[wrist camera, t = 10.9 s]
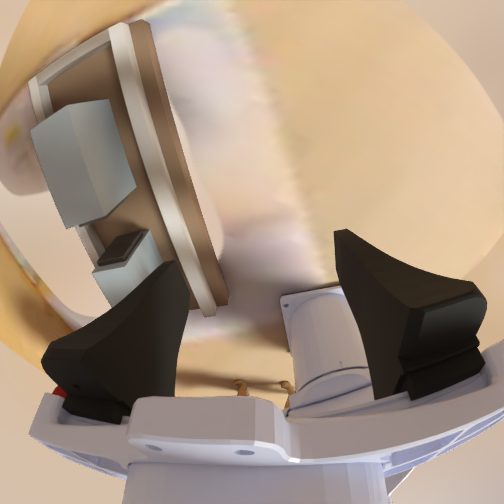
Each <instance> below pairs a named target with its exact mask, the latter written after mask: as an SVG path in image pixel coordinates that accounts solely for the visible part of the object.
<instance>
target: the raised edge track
mask: <svg viewBox="0 0 504 504" xmlns="http://www.w3.org/2000/svg"><path fill="white" fill-rule="evenodd" d="M28 84H29V89H30V94H31V99H32V104H33V108H34V112H35V116H36V120H37V124H40V123H41V122H43V121H44V120H45V119H47V118H48V117H50V116H51V115H53V114H54V113H56V112H57V111H59V110H60V109H62V108H63V107H65V106H67V105H71V104H77V103H83V102H90V101H97V100H105V99H109V102H110V105H111V109H112V113H113V116H114V119H115V123H116V126H117V130H118V133H119V136H120V139H121V142H122V146H123V149H124V152H125V155H126V158H127V161H128V164H129V167H130V170H131V172H132V175H133V178H134V181H135V184H136V186H137V187H136V188H135V189H134V190H133V191H132V192H131V193H129V194H128V198H127V199H126V200H125V201H124V202H123V203H122V204H121V205H120V206H119V207H118V208H117V209H116V210H115V211H114V212H113V213H112V214H111V215H110V216H109V217H108V218H107V219H104V220H101V221H98V222H95V223H92V224H89V225H86V226H83V227H79V225H77V226H75V228H76V230H77V232H78V235H79V237H80V239H81V241H82V243H83V245H84V247H85V249H86V251H87V253H88V255H89V257H90V259H91V261H92V263H93V264H94V266H95V269H94V271H93V272H92V275H93V277H94V278H95V280H96V282H97V284H98V285H99V287H100V289H101V290H102V292H103V294H104V295H105V297H106V299H107V300H108V302H109V304H110V305H111V307H112V308H113V307H114V306H115V305H116V304H118V303H119V302H120V301H121V300H122V299H124V298H125V297H126V296H127V295H128V294H129V293H130V292H131V291H132V290H134V289H135V288H136V287H137V286H138V285H139V284H140V283H141V282H142V281H143V280H144V279H145V278H146V277H147V276H148V275H150V274H151V273H152V272H153V271H154V270H155V269H156V268H157V267H158V266H159V265H161V264H162V263H163V262H165V261H171V260H176V261H177V263H178V265H179V268H180V270H181V273H182V275H183V277H184V279H185V282H186V284H187V286H188V289H189V291H190V293H191V294H190V304H189V310H193V309H201V311H202V313H203V315H204V317H210V316H215V315H216V308H217V306H224V305H228V297H229V293H228V290H227V287H226V284H225V281H224V278H223V276H222V273H221V270H220V267H219V264H218V261H217V258H216V255H215V252H214V249H213V246H212V243H211V240H210V237H209V234H208V231H207V228H206V224H205V221H204V218H203V215H202V212H201V209H200V206H199V203H198V199H197V196H196V193H195V190H194V186H193V183H192V180H191V177H190V173H189V170H188V167H187V163H186V160H185V157H184V153H183V150H182V146H181V143H180V139H179V136H178V132H177V129H176V125H175V122H174V118H173V115H172V111H171V107H170V104H169V100H168V96H167V92H166V89H165V85H164V81H163V77H162V73H161V69H160V65H159V61H158V57H157V53H156V49H155V45H154V41H153V37H152V32H151V28H150V24H149V23H148V22H146V21H144V20H142V19H141V20H139V21H137V22H134V23H132V24H130V25H127V24H125V23H123V22H120V23H118V24H116V25H114V26H112V27H110V28H108V29H106V30H104V31H102V32H100V33H99V34H97V35H95V36H93V37H92V38H90V39H88V40H87V41H85V42H83V43H82V44H80V45H78V46H77V47H75V48H74V49H72V50H70V51H69V52H67V53H66V54H64V55H63V56H62V57H60V58H59V59H57V60H56V61H54V62H53V63H52V64H50V65H49V66H48V67H46V68H45V69H44V70H42V71H41V72H40V73H38V74H37V75H36V76H35V77H33V78H32V79H31V80H30V81H29V82H28Z"/></svg>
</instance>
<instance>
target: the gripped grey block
mask: <svg viewBox="0 0 504 504" xmlns="http://www.w3.org/2000/svg"><path fill="white" fill-rule="evenodd" d="M30 133H31V137H32V140H33V144H34V147H35V150H36V153H37V157H38V160H39V163H40V165H41V168H42V171H43V174H44V177H45V179H46V182H47V185H48V187H49V190H50V192H51V195H52V197H53V200H54V202H55V205H56V207H57V209H58V212H59V214H60V216H61V218H62V221H63V223H64V225H65V227H66V229H68V228H71V227H74V226H77V225H79V227H83V226H86V225H89V224H92V223H95V222H98V221H101V220H104V219H107V218H108V217H109V216H110V215H111V214H112V213H113V212H114V211H115V210H116V209H117V208H118V207H119V206H120V205H121V204H122V203H123V202H124V201H125V200H126V199H127V198H128V194H129V193H131V192H132V191H133V190H134V189H135V188H136V187H137V186H136V184H135V181H134V178H133V175H132V172H131V170H130V167H129V164H128V161H127V158H126V155H125V152H124V149H123V146H122V142H121V139H120V136H119V133H118V130H117V126H116V123H115V119H114V116H113V113H112V109H111V105H110V102H109V99H105V100H97V101H90V102H83V103H77V104H71V105H67V106H65V107H63V108H62V109H60V110H59V111H57V112H56V113H54V114H53V115H51V116H50V117H48V118H47V119H45V120H44V121H43V122H41V123H40V124H38V125H37V126H36V127H34V128H33V129H32V130H30Z"/></svg>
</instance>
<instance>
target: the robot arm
mask: <svg viewBox="0 0 504 504" xmlns="http://www.w3.org/2000/svg"><path fill="white" fill-rule="evenodd" d="M334 244H335V261H336V271H337V275H338V278H339V282H340V286H334V287H329V288H324V289H318V290H313V291H307V292H302V293H296V294H290V295H284V296H282V297H281V298H280V304H281V309H282V314H283V319H284V324H285V329H286V334H287V339H288V344H289V349H290V354H291V357H292V358H293V367H294V377H295V388H296V393H295V394H292V395H290V396H289V401H290V407H289V408H285V409H283V410H281V409H280V408H278V407H277V406H276V405H275V404H274V403H273V402H271V401H268V400H265V399H261V398H258V397H254V396H217V397H175V377H176V367H177V358H178V352H179V348H180V344H181V340H182V336H183V332H184V328H185V324H186V320H187V316H188V312H189V304H190V294H191V293H190V291H189V289H188V286H187V284H186V282H185V279H184V277H183V275H182V273H181V270H180V268H179V265H178V263H177V261H176V260H171V261H165V262H163V263H162V264H161V265H159V266H158V267H157V268H156V269H155V270H154V271H153V272H152V273H151V274H150V275H148V276H147V277H146V278H145V279H144V280H143V281H142V282H141V283H140V284H139V285H138V286H137V287H136V288H135V289H134V290H132V291H131V292H130V293H129V294H128V295H127V296H126V297H125V298H124V299H122V300H121V301H120V302H119V303H118V304H116V305H115V306H114V307H113V308H111V309H110V310H109V311H107V312H106V313H105V314H103V315H101V316H100V317H98V318H97V319H95V320H94V321H92V322H91V323H89V324H87V325H86V326H84V327H82V328H80V329H79V330H77V331H75V332H73V333H71V334H69V335H66V336H64V337H62V338H60V339H57V340H55V341H52V342H51V343H50V345H49V346H48V348H47V350H46V352H45V354H44V355H43V357H42V359H41V364H42V367H43V369H44V370H45V372H46V373H47V374H48V376H49V377H50V378H51V379H52V380H53V381H54V382H55V383H56V384H57V385H58V386H59V387H61V388H62V389H63V390H64V391H65V392H66V393H67V395H66V397H65V399H64V398H63V397H61V396H58V395H54V394H50V393H45V394H44V396H43V398H42V401H41V403H40V405H39V408H38V410H37V413H36V415H35V418H34V420H33V423H32V425H31V428H30V431H29V435H30V436H31V437H33V438H34V439H36V440H37V441H39V442H40V443H42V444H43V445H45V446H46V447H48V448H49V449H51V450H52V451H54V452H56V453H57V454H59V455H61V456H62V457H64V458H66V459H68V460H71V461H74V462H76V463H79V464H81V465H83V466H86V467H89V468H92V469H94V470H97V471H99V472H102V473H105V474H108V475H111V476H114V477H117V478H120V479H123V480H126V485H125V491H124V497H123V502H122V504H393V501H392V497H391V493H392V492H393V491H394V490H395V489H396V488H397V487H398V486H399V485H400V484H401V482H402V481H403V480H404V479H405V478H406V477H407V476H408V475H409V474H410V473H411V471H412V470H413V469H414V468H415V466H418V465H420V464H422V463H425V462H427V461H429V460H432V459H434V458H436V457H438V456H440V455H442V454H444V453H446V452H448V451H450V450H452V449H454V448H456V447H458V446H460V445H462V444H463V443H465V442H467V441H469V440H471V439H472V438H474V437H476V436H477V435H479V434H481V433H482V432H484V431H486V430H487V429H489V428H491V427H492V426H494V425H495V424H497V423H498V422H500V421H502V420H503V419H504V339H503V340H501V341H500V342H498V343H496V344H494V345H492V346H490V347H488V348H487V349H485V350H484V351H483V352H482V353H480V351H479V350H478V348H477V347H478V346H479V343H480V342H479V340H478V338H477V337H476V334H477V332H478V330H479V328H480V326H481V323H482V321H483V319H484V316H485V313H486V310H487V301H486V298H485V297H484V296H483V294H482V293H481V292H480V290H479V289H478V288H477V286H476V285H475V284H474V283H473V282H471V281H465V280H459V279H453V278H448V277H444V276H440V275H436V274H433V273H430V272H427V271H424V270H421V269H418V268H415V267H413V266H410V265H408V264H406V263H404V262H402V261H399V260H397V259H395V258H393V257H391V256H389V255H388V254H386V253H384V252H382V251H381V250H379V249H377V248H376V247H374V246H372V245H371V244H369V243H368V242H366V241H365V240H363V239H362V238H360V237H359V236H357V235H356V234H354V233H353V232H351V231H350V230H348V229H343V230H337V231H334ZM284 304H288V305H284Z"/></svg>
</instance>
